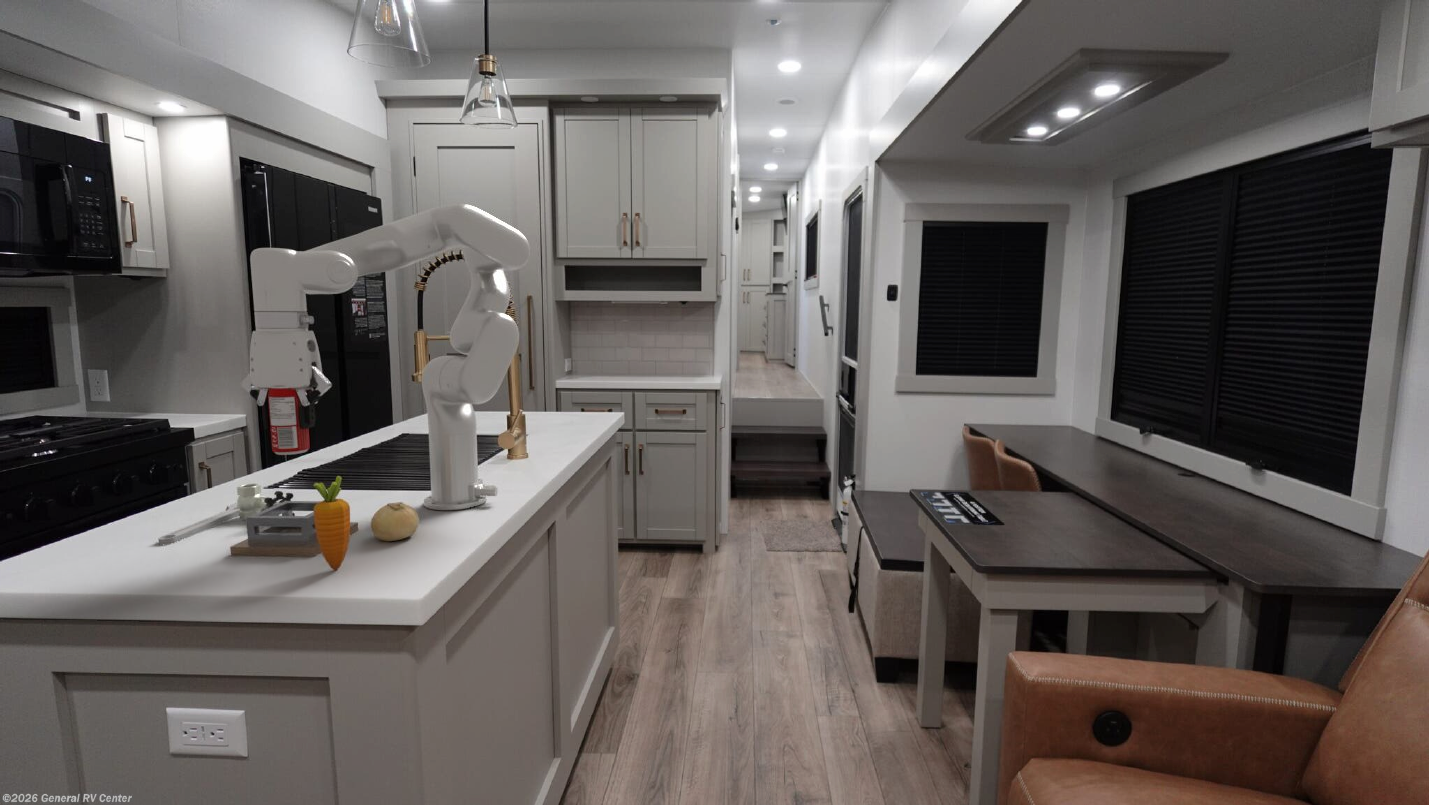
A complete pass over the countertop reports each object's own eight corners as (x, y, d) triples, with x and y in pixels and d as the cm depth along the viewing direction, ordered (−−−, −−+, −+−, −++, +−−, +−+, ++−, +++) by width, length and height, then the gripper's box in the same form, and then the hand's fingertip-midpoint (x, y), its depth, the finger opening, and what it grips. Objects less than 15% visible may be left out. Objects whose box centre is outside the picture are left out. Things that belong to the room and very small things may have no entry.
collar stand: (358, 530, 127) (356, 499, 126) (314, 556, 113) (311, 521, 113) (284, 529, 127) (281, 498, 127) (230, 555, 113) (227, 520, 113)
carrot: (315, 578, 104) (309, 482, 102) (319, 567, 109) (313, 475, 107) (352, 573, 106) (346, 479, 104) (354, 562, 111) (349, 473, 109)
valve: (227, 521, 132) (265, 529, 127) (224, 488, 132) (262, 495, 127) (262, 512, 138) (299, 520, 133) (259, 480, 138) (297, 487, 132)
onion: (361, 542, 121) (358, 503, 120) (394, 529, 128) (392, 492, 127) (397, 547, 118) (395, 508, 117) (429, 533, 126) (427, 496, 125)
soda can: (305, 447, 122) (301, 381, 121) (313, 452, 118) (308, 383, 117) (269, 451, 118) (264, 383, 117) (276, 456, 114) (270, 385, 113)
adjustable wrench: (169, 548, 118) (168, 538, 118) (136, 546, 119) (135, 536, 119) (275, 507, 143) (274, 499, 143) (247, 506, 144) (246, 498, 143)
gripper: (344, 322, 119) (350, 424, 121) (246, 322, 119) (255, 423, 121) (319, 323, 112) (326, 431, 114) (215, 322, 112) (224, 431, 114)
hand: (289, 426), depth 118 cm, fingers closed on soda can, 5 cm apart
